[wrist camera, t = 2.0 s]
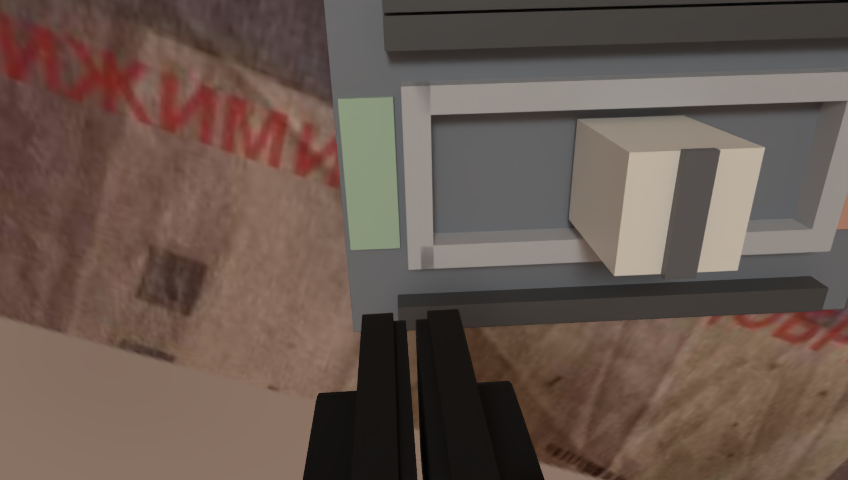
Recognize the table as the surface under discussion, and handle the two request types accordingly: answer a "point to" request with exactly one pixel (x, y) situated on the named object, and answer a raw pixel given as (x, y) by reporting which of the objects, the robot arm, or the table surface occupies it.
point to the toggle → (663, 194)
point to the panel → (555, 144)
